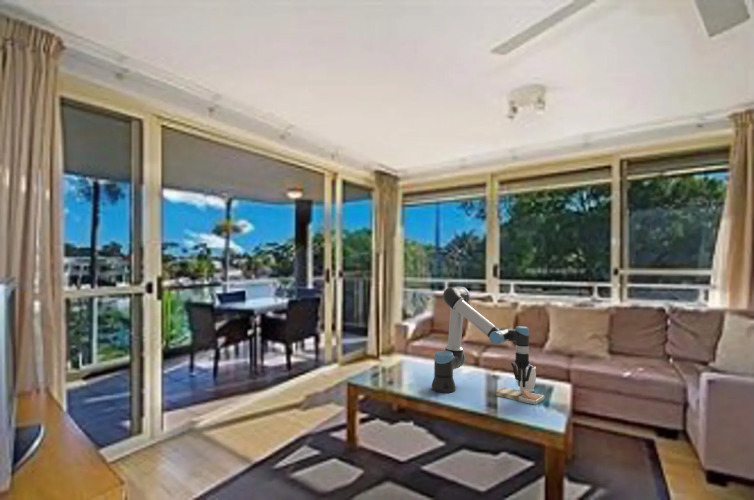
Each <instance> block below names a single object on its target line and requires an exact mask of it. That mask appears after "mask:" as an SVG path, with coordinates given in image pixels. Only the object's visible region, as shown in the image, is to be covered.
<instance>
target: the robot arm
mask: <svg viewBox="0 0 754 500" xmlns="http://www.w3.org/2000/svg"><path fill="white" fill-rule="evenodd" d="M470 295H471V294H470V292H469V290H468V289H467V288H466V287H464V286H460V285H459V286H458V285H457V286H456V285H455V286H450V287H447V288H446V289H445V290H444V291H443V293H442V299H443V301H444V303H445V304H446V305H447V306H448V308H449V309H450V312H449V322H448V323H449V324H448V325H449V326H448V327H449V328H448V338H447V340H448V341H447V345H446V346H445V348H444V350H438V351H436V352H435V353H434V359H433V360H434V364H433V365H434V367H433V368H434V369H433V370H434V373H433V374H434V377H433V380H432V383H431V387H430V389H431V390H432V391H433V392H438V393H443V394H448V393H454V392H455V391H456V388H457V387H456V384H455V380H454V370H456V369H459V368H460V367H462V366H463V365H464V364H465V361H466V356H465V353H464V348H463V347H462V340H463V339H462V338H463V336H462V335H463V324H464V319H466V320H467V321H469V322H470V323H471V324H472V325H473V326H474V327H476V328H477V329H478V330H479V331H480V332H482V333H483V334H484V335H485V336H487V338H488V339H489V341H490V343H491V344H492V345H502V343H505V342H512V343H514V342H515V360H514V362H511V363H510V365H511V367H512V370H513V375H514V379H515V380H516V381H517V382H518V387H519V390H520V393H522V392H523V391H524V387H525V382H527V381H529V377H530V373H531V370H532V368H533V366H534V365H531V364H530V354H529V353H530V330H529V327H527V326H521V325H519V326H515V328H506V327H496V325H494V324H493V323H492V322H490V320H488V319H487V318H486V317H484V316H483V315H482V314H481V313H479V312H478V310H476V309H474V308H473V306H471V305H470V304H469V303H468V302H469V301H470V298H471V296H470ZM527 366H528V371H527V375H526V368H527ZM521 380H522V381H521Z"/></svg>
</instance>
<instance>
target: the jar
mask: <svg viewBox="0 0 754 500" xmlns="http://www.w3.org/2000/svg"><path fill="white" fill-rule="evenodd" d="M532 366H533V368H532V370H531V373H530V377H529V381H527V382H525V387H524V391H525V390H527V391H528V392H530V393H534V392H535V389H534V388H535V385H536V382H537V372H536V370H537V368H536V366H535V365H532ZM527 371H528V366H527V368H526V375H527ZM521 381H522V380H521Z"/></svg>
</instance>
